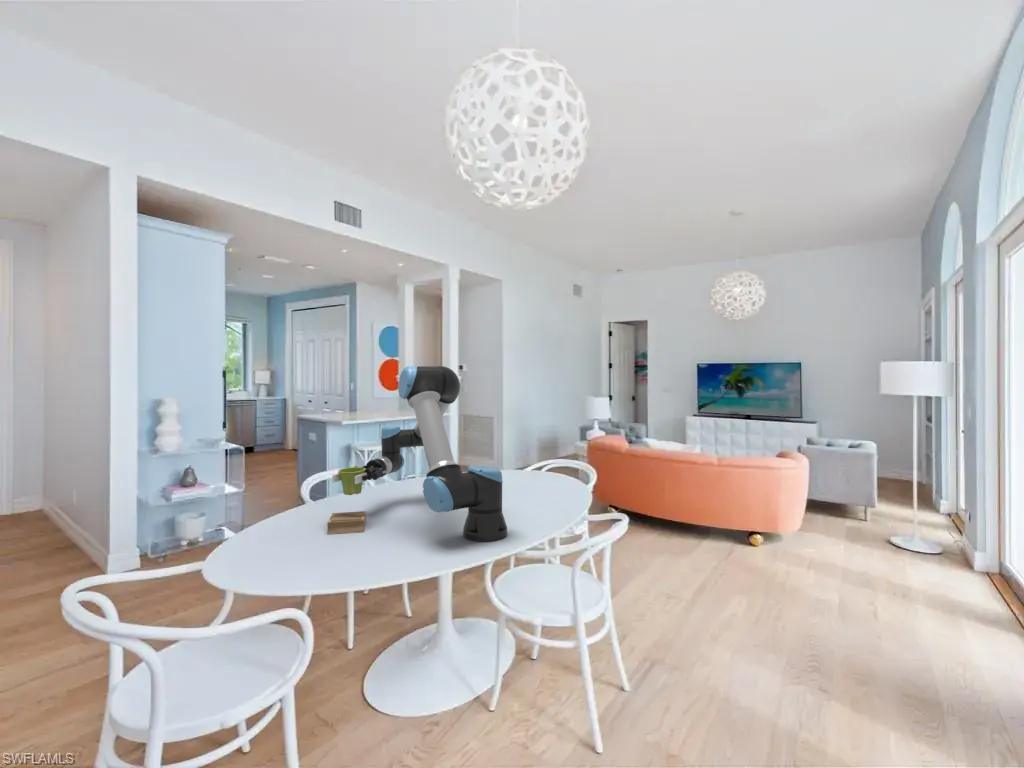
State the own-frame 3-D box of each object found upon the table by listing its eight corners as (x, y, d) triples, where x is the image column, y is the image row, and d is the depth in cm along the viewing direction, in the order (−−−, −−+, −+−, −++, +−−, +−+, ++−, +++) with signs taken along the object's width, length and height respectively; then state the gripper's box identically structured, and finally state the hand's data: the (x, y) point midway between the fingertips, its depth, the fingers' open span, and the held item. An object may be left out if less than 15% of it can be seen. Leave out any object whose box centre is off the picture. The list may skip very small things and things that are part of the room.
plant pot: (357, 497, 177) (357, 472, 176) (333, 495, 179) (333, 471, 179) (370, 491, 186) (370, 467, 186) (347, 489, 188) (347, 466, 188)
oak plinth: (363, 531, 175) (363, 519, 175) (327, 534, 173) (327, 521, 173) (366, 521, 187) (366, 510, 187) (332, 524, 185) (332, 512, 184)
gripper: (402, 478, 197) (371, 491, 175) (355, 475, 202) (318, 488, 181) (402, 459, 196) (370, 470, 175) (355, 457, 202) (318, 467, 180)
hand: (344, 479), depth 178 cm, fingers closed on plant pot, 8 cm apart
